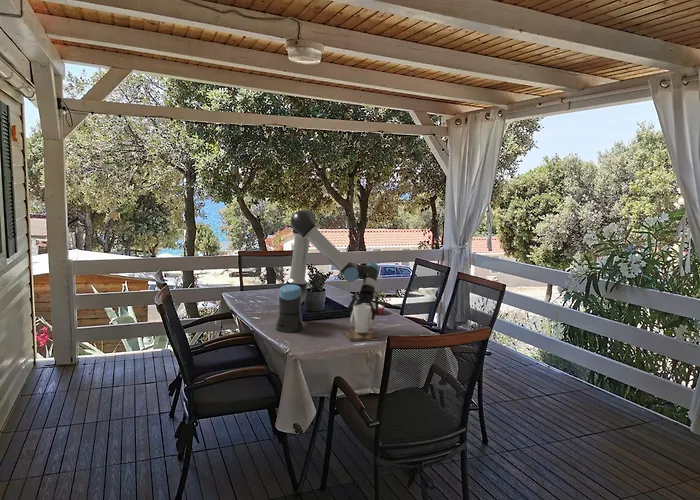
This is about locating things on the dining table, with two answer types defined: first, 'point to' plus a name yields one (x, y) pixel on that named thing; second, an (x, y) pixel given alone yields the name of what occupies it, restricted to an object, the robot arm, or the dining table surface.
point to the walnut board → (360, 335)
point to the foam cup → (361, 317)
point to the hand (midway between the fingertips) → (360, 323)
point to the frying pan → (380, 307)
